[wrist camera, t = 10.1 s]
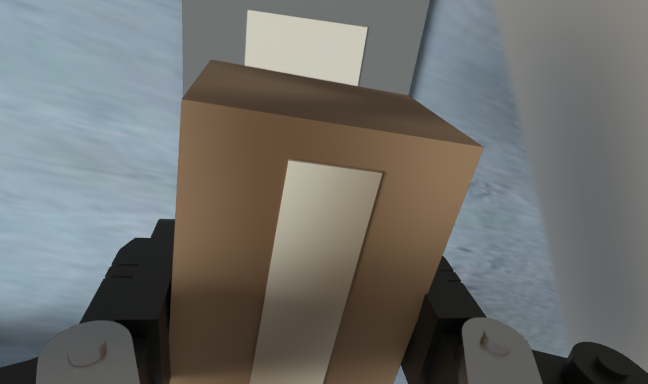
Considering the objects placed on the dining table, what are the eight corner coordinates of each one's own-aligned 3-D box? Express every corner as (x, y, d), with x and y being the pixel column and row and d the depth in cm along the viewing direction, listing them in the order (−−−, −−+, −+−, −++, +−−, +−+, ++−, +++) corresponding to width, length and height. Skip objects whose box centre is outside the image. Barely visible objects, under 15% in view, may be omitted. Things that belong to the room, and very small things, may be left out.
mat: (370, 249, 32) (373, 254, 31) (185, 243, 29) (183, 248, 28) (434, -39, 23) (439, -40, 23) (183, -85, 21) (181, -88, 20)
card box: (407, 95, 11) (486, 148, 7) (335, 347, 14) (361, 469, 11) (210, 59, 9) (180, 100, 6) (187, 342, 13) (160, 475, 9)
